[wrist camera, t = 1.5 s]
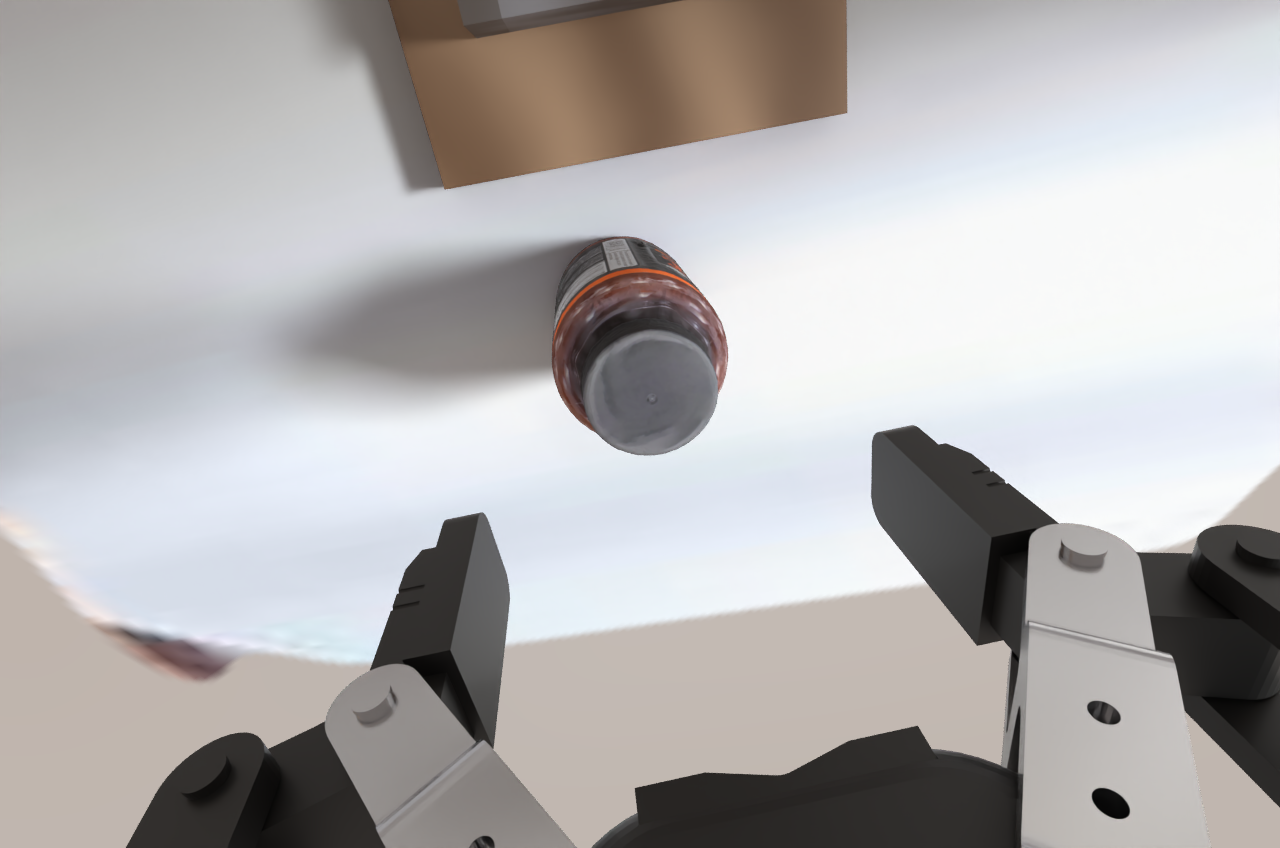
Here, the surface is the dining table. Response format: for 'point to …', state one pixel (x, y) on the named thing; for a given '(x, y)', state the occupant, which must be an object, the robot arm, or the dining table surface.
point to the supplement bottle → (636, 347)
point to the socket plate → (612, 76)
